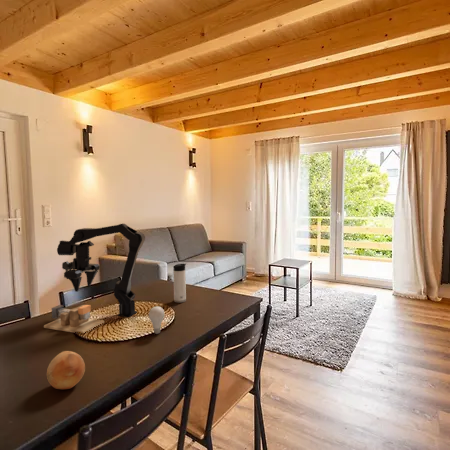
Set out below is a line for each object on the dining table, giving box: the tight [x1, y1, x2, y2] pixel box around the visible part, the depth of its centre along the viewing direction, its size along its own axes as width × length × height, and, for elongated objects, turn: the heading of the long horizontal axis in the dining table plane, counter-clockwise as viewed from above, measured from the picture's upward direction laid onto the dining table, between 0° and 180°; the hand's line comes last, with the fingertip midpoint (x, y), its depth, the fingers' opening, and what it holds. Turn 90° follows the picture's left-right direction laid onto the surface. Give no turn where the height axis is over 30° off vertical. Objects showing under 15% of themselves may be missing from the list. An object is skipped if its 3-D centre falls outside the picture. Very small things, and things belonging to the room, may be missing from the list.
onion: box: [46, 350, 86, 390], centre depth 88 cm, size 10×10×10 cm
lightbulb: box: [148, 305, 165, 335], centre depth 123 cm, size 6×6×11 cm
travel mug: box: [172, 263, 187, 304], centre depth 163 cm, size 6×7×20 cm
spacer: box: [78, 304, 92, 315], centre depth 130 cm, size 2×4×2 cm, turn 161°
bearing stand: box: [43, 304, 105, 334], centre depth 133 cm, size 21×12×8 cm, turn 71°
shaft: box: [51, 304, 91, 320], centre depth 133 cm, size 18×4×4 cm, turn 71°
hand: (83, 288), depth 144 cm, fingers open, 9 cm apart
